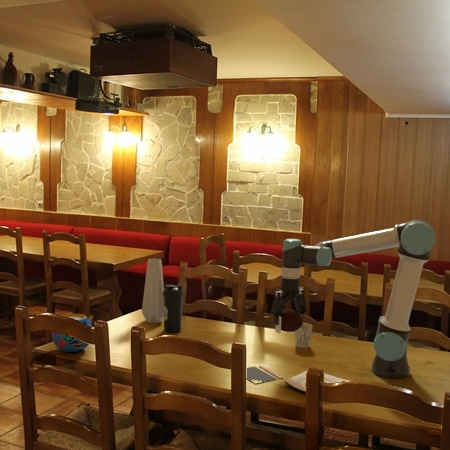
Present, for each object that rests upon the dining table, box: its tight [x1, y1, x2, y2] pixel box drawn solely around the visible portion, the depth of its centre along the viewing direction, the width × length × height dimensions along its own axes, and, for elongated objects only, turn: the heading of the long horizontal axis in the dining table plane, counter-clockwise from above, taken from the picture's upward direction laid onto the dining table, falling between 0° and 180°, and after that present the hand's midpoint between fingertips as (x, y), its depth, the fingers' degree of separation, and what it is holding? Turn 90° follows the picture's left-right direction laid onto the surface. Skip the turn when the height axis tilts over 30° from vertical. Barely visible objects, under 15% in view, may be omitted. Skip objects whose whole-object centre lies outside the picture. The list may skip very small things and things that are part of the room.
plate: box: [284, 370, 348, 394], centre depth 216 cm, size 20×20×3 cm
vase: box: [141, 257, 165, 324], centre depth 295 cm, size 12×12×33 cm
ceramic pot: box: [51, 313, 93, 353], centre depth 248 cm, size 18×18×15 cm
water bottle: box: [163, 283, 185, 334], centre depth 281 cm, size 10×10×23 cm
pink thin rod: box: [258, 365, 284, 380], centre depth 229 cm, size 15×1×1 cm, turn 31°
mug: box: [294, 322, 313, 349], centre depth 261 cm, size 8×13×10 cm, turn 174°
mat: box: [246, 366, 277, 383], centre depth 225 cm, size 15×10×1 cm, turn 31°
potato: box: [280, 308, 304, 333], centre depth 232 cm, size 9×12×9 cm
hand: (288, 330), depth 233 cm, fingers closed on potato, 9 cm apart
